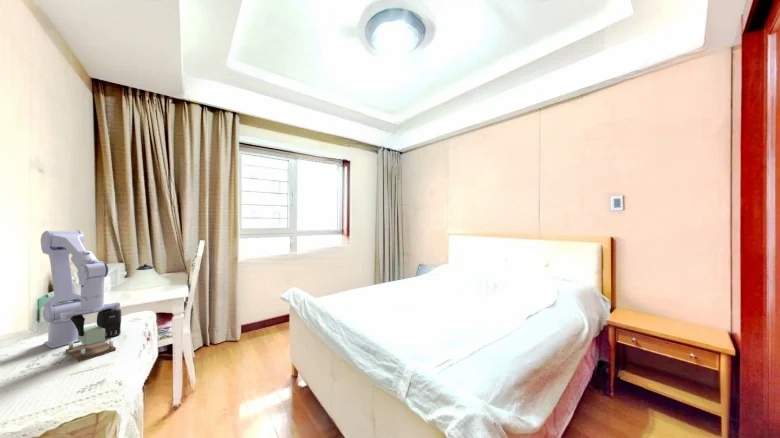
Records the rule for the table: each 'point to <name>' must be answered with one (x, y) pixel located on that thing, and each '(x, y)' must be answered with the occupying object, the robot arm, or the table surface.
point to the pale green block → (92, 335)
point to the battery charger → (112, 323)
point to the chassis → (90, 350)
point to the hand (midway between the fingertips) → (91, 333)
